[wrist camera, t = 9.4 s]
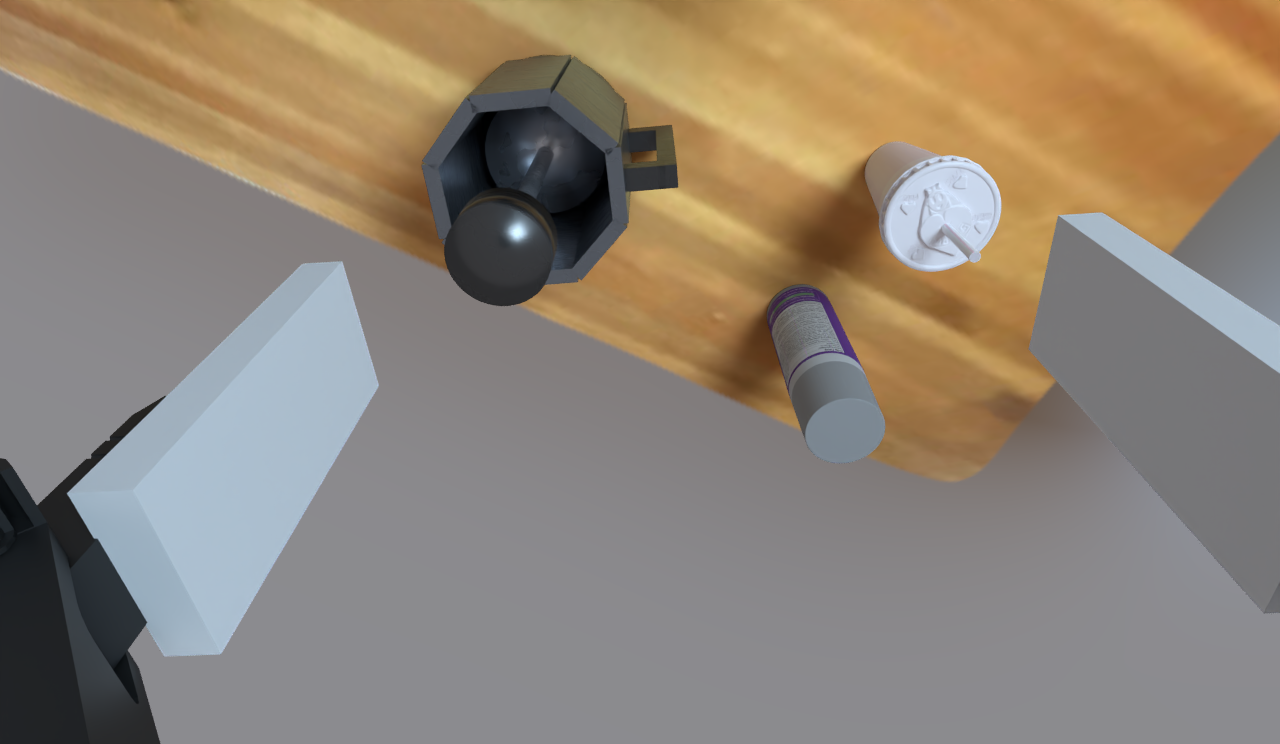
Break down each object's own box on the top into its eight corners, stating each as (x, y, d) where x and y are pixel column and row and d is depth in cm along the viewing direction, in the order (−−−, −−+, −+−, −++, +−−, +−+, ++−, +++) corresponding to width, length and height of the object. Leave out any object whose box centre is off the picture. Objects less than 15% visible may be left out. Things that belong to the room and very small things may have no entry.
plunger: (476, 94, 44) (390, 178, 29) (598, 83, 44) (573, 162, 29) (499, 213, 48) (432, 340, 33) (612, 203, 47) (595, 328, 33)
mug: (460, 63, 46) (406, 101, 36) (666, 43, 46) (671, 76, 35) (491, 219, 51) (451, 292, 41) (676, 203, 51) (684, 273, 40)
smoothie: (863, 232, 52) (928, 325, 40) (829, 149, 49) (888, 221, 37) (954, 189, 50) (1052, 272, 38) (926, 101, 47) (1021, 160, 35)
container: (835, 334, 56) (891, 456, 43) (772, 347, 56) (809, 472, 43) (826, 277, 53) (883, 388, 40) (761, 292, 54) (796, 406, 41)
